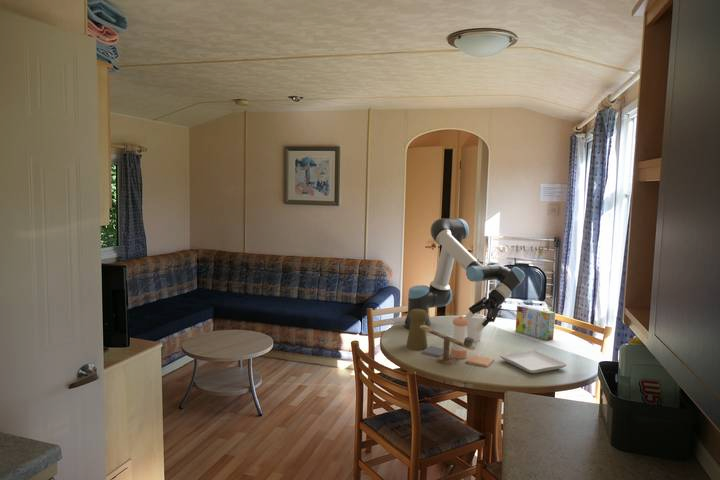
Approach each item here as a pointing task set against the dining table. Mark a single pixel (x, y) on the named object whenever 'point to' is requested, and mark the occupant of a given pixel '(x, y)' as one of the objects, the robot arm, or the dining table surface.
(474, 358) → the orange square coaster
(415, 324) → the pepper shaker
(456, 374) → the dining table surface
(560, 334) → the dining table surface
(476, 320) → the foam cup
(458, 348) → the pepper shaker
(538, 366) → the salad plate
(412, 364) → the dining table surface
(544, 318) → the snack box
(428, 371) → the dining table surface
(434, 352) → the dish slate
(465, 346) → the balance
